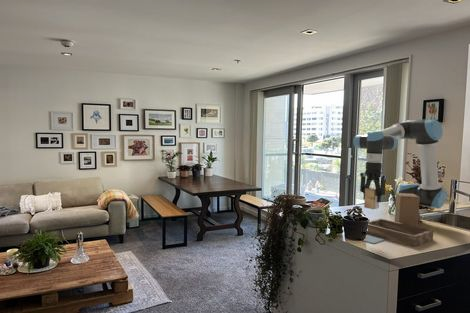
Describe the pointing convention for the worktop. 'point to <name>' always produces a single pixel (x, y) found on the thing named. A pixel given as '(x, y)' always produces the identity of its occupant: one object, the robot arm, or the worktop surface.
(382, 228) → the brown wooden tray
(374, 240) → the mat
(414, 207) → the wooden block
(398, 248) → the worktop surface
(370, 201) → the oak block
